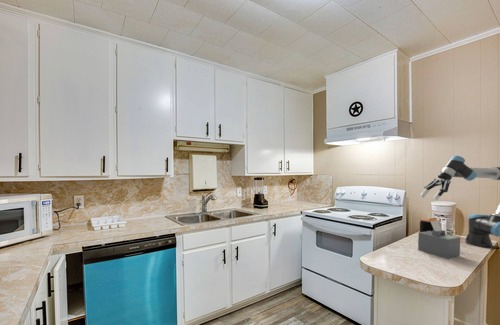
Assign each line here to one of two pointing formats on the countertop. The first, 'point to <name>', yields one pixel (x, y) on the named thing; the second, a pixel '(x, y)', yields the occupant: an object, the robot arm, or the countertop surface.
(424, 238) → the box
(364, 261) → the countertop surface
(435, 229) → the lever
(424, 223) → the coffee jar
